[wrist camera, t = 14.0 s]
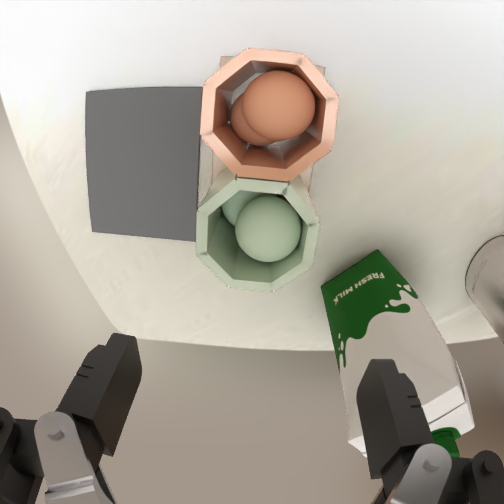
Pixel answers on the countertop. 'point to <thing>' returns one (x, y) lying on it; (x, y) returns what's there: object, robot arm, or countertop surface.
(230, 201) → the sage ball
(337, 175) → the countertop surface
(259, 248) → the ball sage
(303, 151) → the tubes
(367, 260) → the milk carton
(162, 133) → the mat
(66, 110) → the countertop surface
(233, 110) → the rust ball
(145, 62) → the countertop surface
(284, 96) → the ball rust
